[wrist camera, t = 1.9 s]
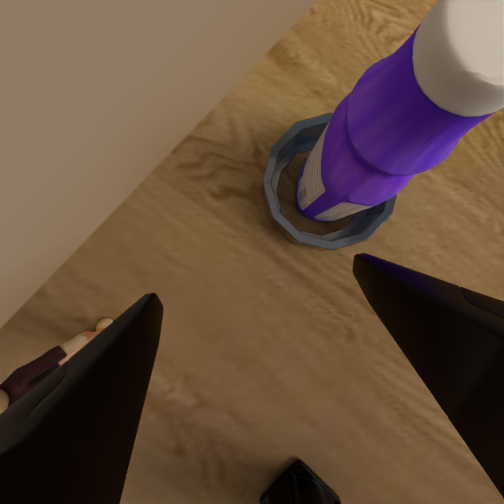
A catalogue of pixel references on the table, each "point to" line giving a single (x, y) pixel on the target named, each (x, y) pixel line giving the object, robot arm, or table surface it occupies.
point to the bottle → (408, 110)
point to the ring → (280, 155)
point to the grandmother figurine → (43, 366)
